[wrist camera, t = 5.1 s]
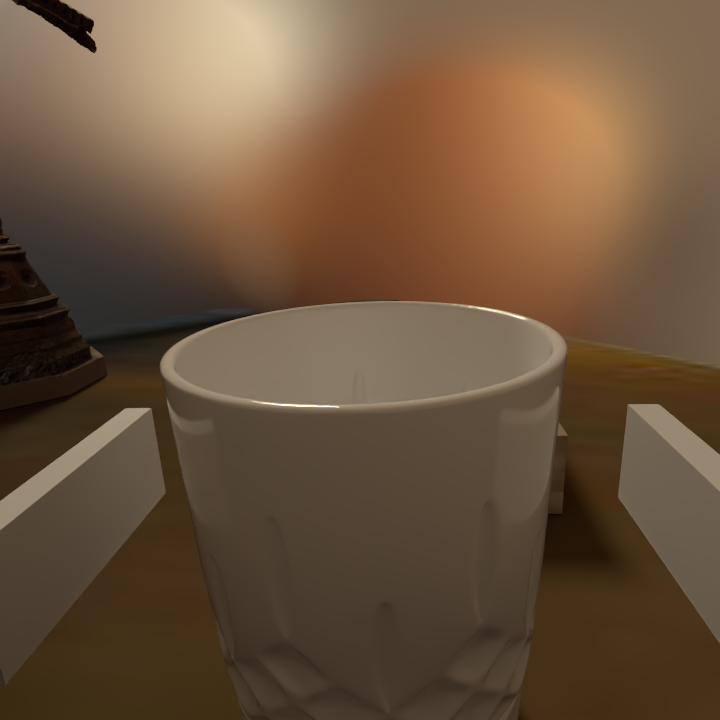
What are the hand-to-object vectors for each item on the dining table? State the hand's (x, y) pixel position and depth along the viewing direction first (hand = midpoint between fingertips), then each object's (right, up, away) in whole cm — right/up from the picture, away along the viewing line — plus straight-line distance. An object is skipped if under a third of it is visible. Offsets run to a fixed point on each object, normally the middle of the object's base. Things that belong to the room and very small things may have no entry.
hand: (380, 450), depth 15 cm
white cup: (0, -7, -1) cm, 7 cm away
